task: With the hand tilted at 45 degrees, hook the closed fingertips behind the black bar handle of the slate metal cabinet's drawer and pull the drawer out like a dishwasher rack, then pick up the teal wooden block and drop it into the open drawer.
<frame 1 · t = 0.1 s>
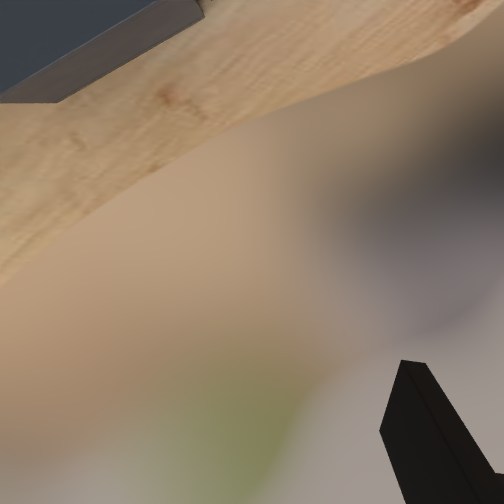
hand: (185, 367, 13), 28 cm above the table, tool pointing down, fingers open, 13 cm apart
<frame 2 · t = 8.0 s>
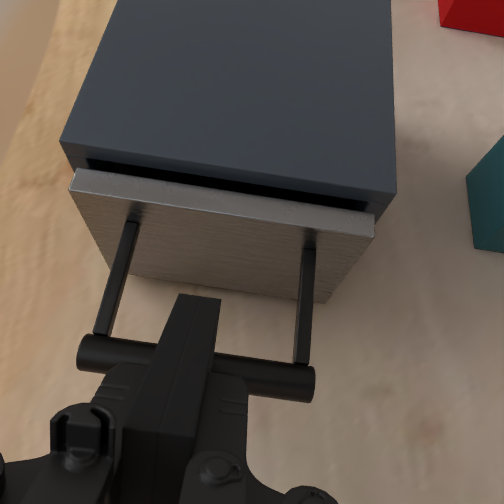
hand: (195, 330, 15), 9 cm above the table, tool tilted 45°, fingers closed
drawer: (230, 197, 23), point 5 cm above the table, slide at 0.4 cm, touching gripper
puzzle toy: (486, 3, 41), on the table
cabinet: (238, 172, 30), on the table
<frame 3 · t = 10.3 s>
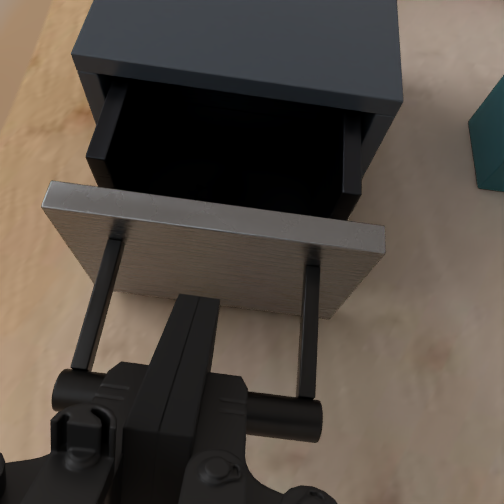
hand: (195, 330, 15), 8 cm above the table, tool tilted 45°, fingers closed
drawer: (225, 208, 21), point 5 cm above the table, slide at 5.5 cm, touching gripper
cabinet: (243, 119, 30), on the table
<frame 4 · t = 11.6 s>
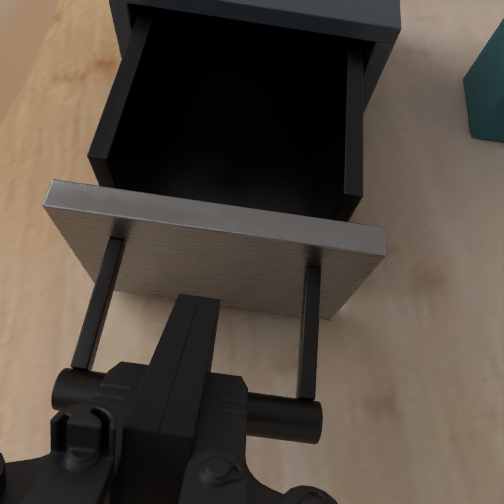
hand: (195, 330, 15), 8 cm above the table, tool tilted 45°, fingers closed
drawer: (226, 208, 21), point 5 cm above the table, slide at 10.2 cm, touching gripper
cabinet: (252, 72, 32), on the table
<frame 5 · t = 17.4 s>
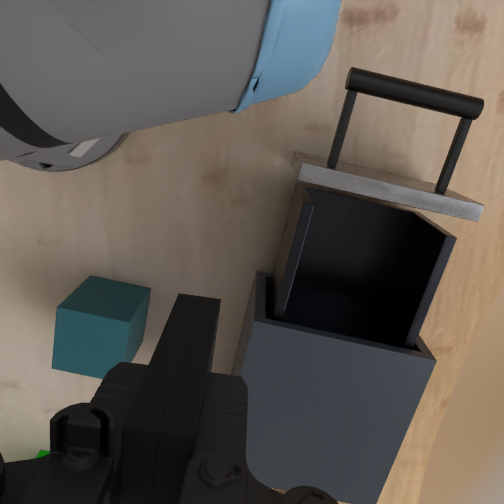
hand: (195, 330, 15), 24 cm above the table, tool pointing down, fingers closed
drawer: (364, 219, 33), point 5 cm above the table, slide at 10.4 cm
block: (117, 308, 42), on the table
cabinet: (306, 351, 43), on the table
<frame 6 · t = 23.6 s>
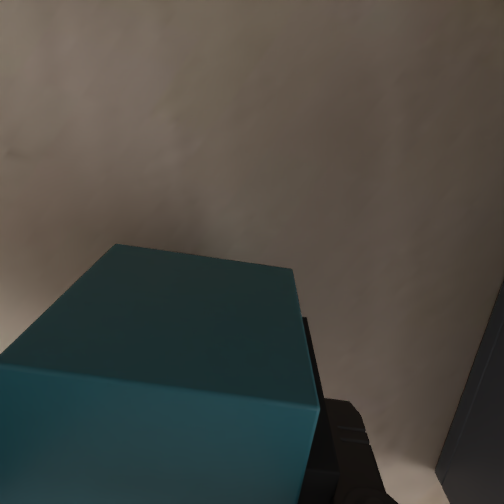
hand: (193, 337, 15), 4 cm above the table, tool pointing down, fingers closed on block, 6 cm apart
block: (195, 333, 15), point 3 cm above the table, touching gripper
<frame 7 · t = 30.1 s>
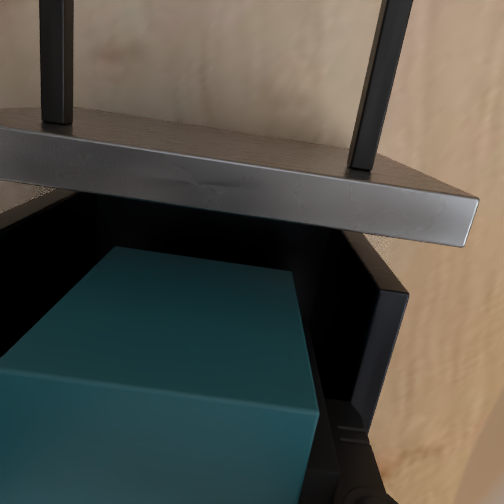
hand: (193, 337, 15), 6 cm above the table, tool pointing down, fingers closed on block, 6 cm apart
drawer: (204, 246, 14), point 5 cm above the table, slide at 10.3 cm, touching gripper
block: (195, 336, 15), point 5 cm above the table, touching gripper
when the fingers open (9 cm above the table, at t = 44.6 s): block drops 6 cm, resting on drawer.
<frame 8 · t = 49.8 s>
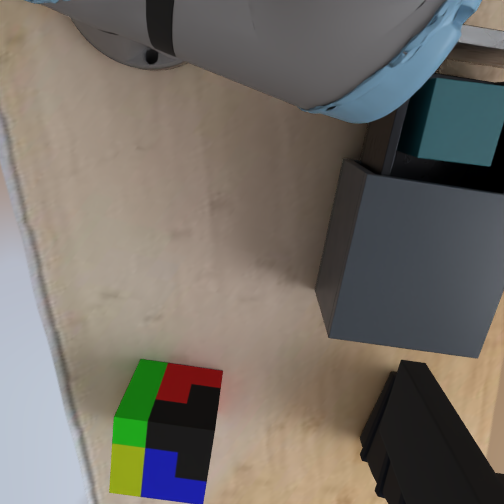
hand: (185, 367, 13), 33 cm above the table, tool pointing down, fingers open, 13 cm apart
drawer: (455, 84, 36), point 5 cm above the table, slide at 10.2 cm, touching block
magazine: (388, 399, 53), on the table
puzzle toy: (178, 397, 53), on the table
block: (430, 119, 40), point 2 cm above the table, touching drawer
cabinet: (391, 236, 46), on the table
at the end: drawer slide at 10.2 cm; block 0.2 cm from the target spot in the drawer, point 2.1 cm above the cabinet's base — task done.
